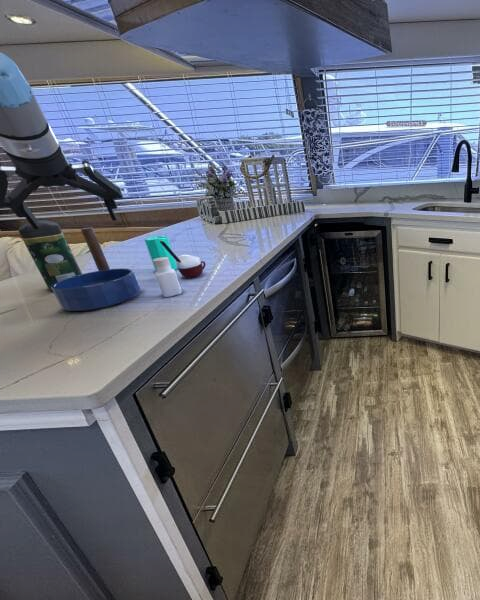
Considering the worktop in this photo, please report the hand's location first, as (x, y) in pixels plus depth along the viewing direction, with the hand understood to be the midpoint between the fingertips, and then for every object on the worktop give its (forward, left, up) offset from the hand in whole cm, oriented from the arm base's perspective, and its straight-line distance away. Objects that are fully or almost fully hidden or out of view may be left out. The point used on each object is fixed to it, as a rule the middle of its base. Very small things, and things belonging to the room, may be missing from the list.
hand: (76, 220), depth 76 cm
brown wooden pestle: (0, +11, -20) cm, 22 cm away
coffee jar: (-10, +21, -20) cm, 30 cm away
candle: (+14, +18, -20) cm, 30 cm away
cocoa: (+19, +3, -20) cm, 28 cm away
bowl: (-1, -2, -20) cm, 20 cm away
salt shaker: (+13, -10, -20) cm, 26 cm away
